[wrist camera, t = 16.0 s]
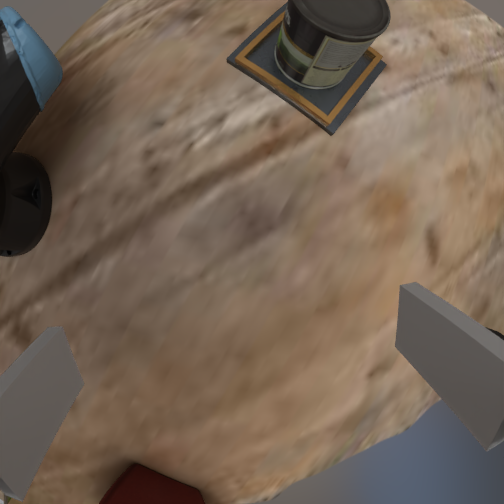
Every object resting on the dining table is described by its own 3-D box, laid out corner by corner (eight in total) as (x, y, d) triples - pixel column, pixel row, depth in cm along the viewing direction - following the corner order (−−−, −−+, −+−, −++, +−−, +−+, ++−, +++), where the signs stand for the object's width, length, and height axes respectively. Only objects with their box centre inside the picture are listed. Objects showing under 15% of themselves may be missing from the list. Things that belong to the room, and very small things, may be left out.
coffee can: (262, 71, 36) (274, 9, 22) (289, 19, 35) (309, -45, 21) (335, 103, 37) (379, 55, 23) (356, 48, 36) (397, -5, 22)
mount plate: (226, 62, 37) (226, 54, 34) (290, 2, 36) (292, -6, 34) (331, 135, 38) (336, 131, 36) (383, 67, 38) (390, 61, 35)
